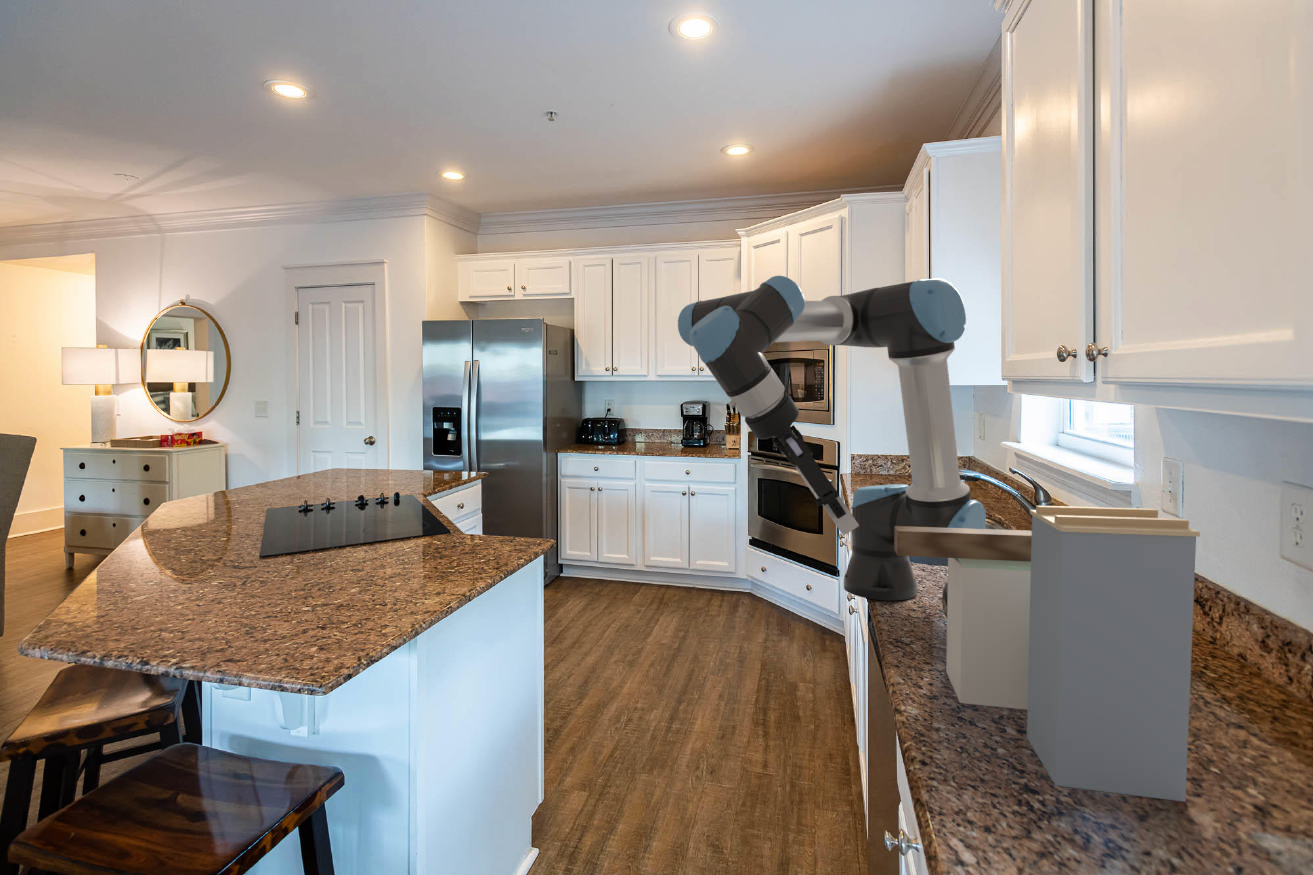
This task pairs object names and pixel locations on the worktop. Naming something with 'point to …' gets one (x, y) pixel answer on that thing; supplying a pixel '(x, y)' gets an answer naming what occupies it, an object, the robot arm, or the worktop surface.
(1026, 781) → the worktop surface
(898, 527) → the walnut block
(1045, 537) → the pillar
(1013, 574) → the felt block
